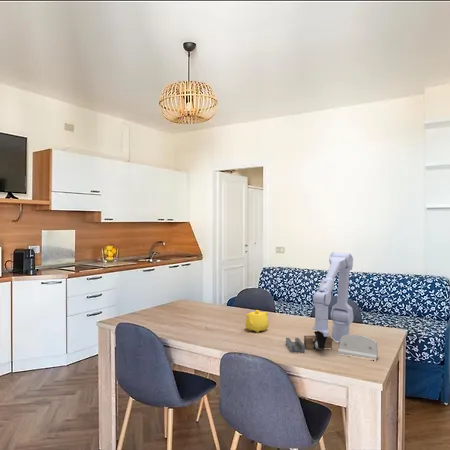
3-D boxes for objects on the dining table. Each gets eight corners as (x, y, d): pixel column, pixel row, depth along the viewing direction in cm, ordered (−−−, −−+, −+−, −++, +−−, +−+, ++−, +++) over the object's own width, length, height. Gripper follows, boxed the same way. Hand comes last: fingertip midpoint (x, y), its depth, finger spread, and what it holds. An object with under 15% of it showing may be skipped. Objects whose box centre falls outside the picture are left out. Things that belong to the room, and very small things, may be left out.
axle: (309, 343, 186) (309, 335, 186) (317, 343, 186) (317, 334, 186) (315, 350, 176) (315, 341, 176) (324, 349, 176) (323, 341, 176)
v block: (285, 344, 183) (285, 337, 183) (298, 344, 184) (298, 337, 184) (291, 352, 171) (291, 345, 171) (304, 352, 172) (304, 345, 172)
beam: (303, 346, 181) (304, 335, 181) (328, 346, 182) (329, 335, 182) (306, 349, 177) (306, 338, 177) (331, 349, 178) (331, 338, 178)
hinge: (336, 354, 170) (338, 331, 173) (338, 355, 174) (340, 332, 177) (376, 361, 162) (378, 337, 165) (378, 362, 166) (379, 338, 169)
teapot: (252, 336, 196) (253, 315, 196) (237, 331, 204) (237, 311, 204) (274, 329, 209) (274, 309, 209) (258, 325, 217) (259, 306, 217)
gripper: (308, 314, 181) (308, 342, 181) (317, 322, 167) (317, 353, 167) (323, 314, 182) (322, 342, 182) (333, 322, 167) (333, 353, 167)
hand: (321, 347), depth 174 cm, fingers closed
